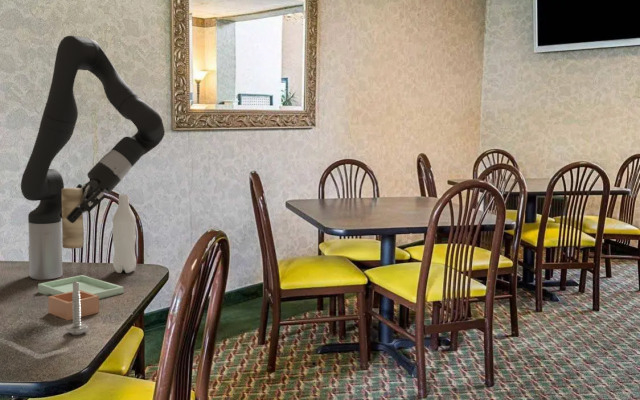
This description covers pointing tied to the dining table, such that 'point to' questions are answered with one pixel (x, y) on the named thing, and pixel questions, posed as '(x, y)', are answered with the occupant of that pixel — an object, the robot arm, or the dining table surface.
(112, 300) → the dining table surface
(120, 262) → the water bottle
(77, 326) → the screw
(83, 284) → the pale green tray
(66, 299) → the terracotta holder
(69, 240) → the birch pin
